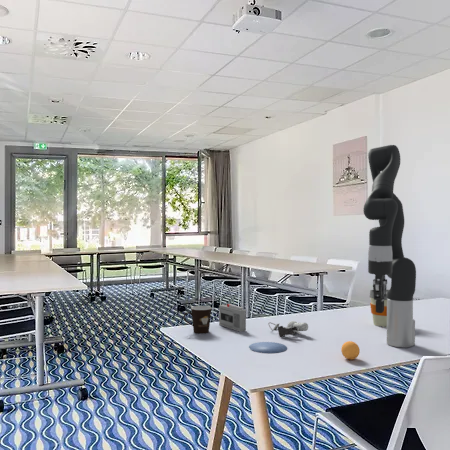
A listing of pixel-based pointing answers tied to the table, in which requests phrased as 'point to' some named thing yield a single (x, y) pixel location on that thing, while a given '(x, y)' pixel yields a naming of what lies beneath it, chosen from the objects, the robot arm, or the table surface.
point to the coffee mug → (200, 318)
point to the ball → (350, 350)
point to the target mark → (268, 347)
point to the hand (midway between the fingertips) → (379, 311)
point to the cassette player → (232, 317)
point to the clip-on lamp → (290, 328)
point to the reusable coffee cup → (378, 318)
